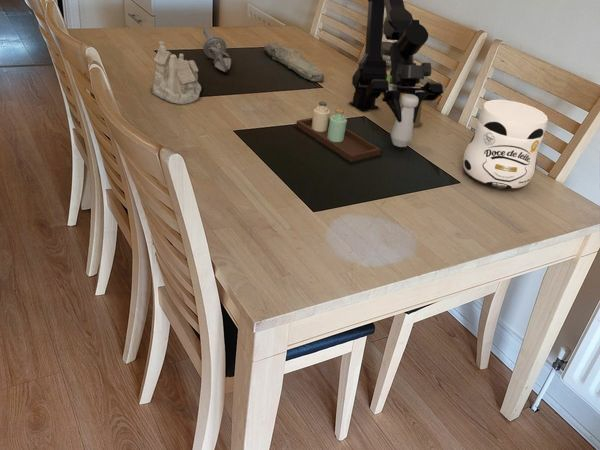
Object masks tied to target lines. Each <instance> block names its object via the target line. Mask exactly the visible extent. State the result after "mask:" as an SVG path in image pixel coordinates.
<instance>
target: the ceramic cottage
mask: <svg viewBox="0 0 600 450" xmlns="http://www.w3.org/2000/svg"><path fill="white" fill-rule="evenodd" d="M158 45H159V46H158V47H157V48H158V49H157V53H156V55H155V56H154V57H153V62H154V67H155V68H154V69H155V71H154V72H153V74H154V75H153V78H154V80H153V84H152V89H151V92H152V94H154V95H155V96H156V97H159V98H161V99H163V100H164V101H166V102H169V103H172V104H178V105H185V104H190V103H194V102H196V101H197V100H199V97H200V94H201V91H202V86H201V84H200V83H199V81H198V80H199V78H198V77H199V73H198V72H199V68H198V67H197V64H196V62H195V61H194V60H193V59H191V60H187V59H184V57H185V56H184V53H179V55H178V57H177V55H176V54H174V53H171V51H169V50H167V49H166V46H165V45H164V41H163V40H161V41H159V42H158Z"/></svg>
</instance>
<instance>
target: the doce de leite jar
mask: <svg viewBox="0 0 600 450" xmlns="http://www.w3.org/2000/svg"><path fill="white" fill-rule="evenodd" d="M548 120H549V119H548V115H547V114H545V113H544V112H543V111H541V110H540V109H538V108H536V107H534V106H532V105H529V104H526V103H524V102H523V103H521V102H518V101H514V100H508V99H491V100H487V101H486V102H484V103H483V105H482V107H481V109H480V112H479V117H478V118H477V120H476V121H477V122H476V124H475V125H476V126H475V129H474V133H473V136H472V138H471V140H470V141H469V143H468V144H467V146H466V148H465V150H464V153H463V159H462V167H463V170H464V171H465V173H466V174H467V175H468V177H470V178H471V179H472V180H474V181H476V182H477V183H480V184H482V185H484V186H486V187H491V188H493V189H499V190H507V191H508V190H516V189H522V188H523V187H525V186H527V185H528V184H529V182H530V181H531V180H532V178H533V176H534V175H535V171H536V169H537V157H538V152H539V148H540V146H541V144H542V141H543V139H544V136H545V132H546V130H547V127H548Z"/></svg>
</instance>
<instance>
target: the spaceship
mask: <svg viewBox="0 0 600 450" xmlns="http://www.w3.org/2000/svg"><path fill="white" fill-rule="evenodd" d="M202 31H203V35H204V37H205V38H206V40H205V42H204V43H203V46H202V47H203V53H204V55H205V56H206V57H207V58H209V59H211V60H212V59H213V65H214V67H215V68H216V69H218V70H219V71H222V72H224V73H228V72H229V70H230V69H231V65H232V59H231V57H230V55H229V54H228V53H227V52H226V51H227V43H226V41H225V40H224V38H222V37H220V36H216V35H215V34H211V30H210V28H209V27H208V26H207V25H205V26H204V27H203V29H202ZM224 55H225V56H227V57H224Z"/></svg>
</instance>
